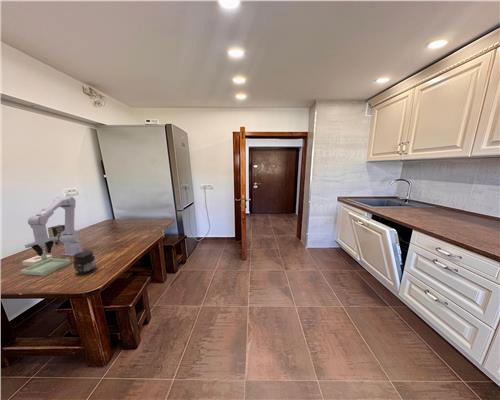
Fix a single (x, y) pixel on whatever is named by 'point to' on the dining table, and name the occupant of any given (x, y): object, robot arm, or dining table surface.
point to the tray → (45, 267)
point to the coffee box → (56, 233)
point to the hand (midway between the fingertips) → (44, 254)
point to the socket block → (34, 260)
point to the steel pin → (43, 253)
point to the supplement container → (84, 262)
